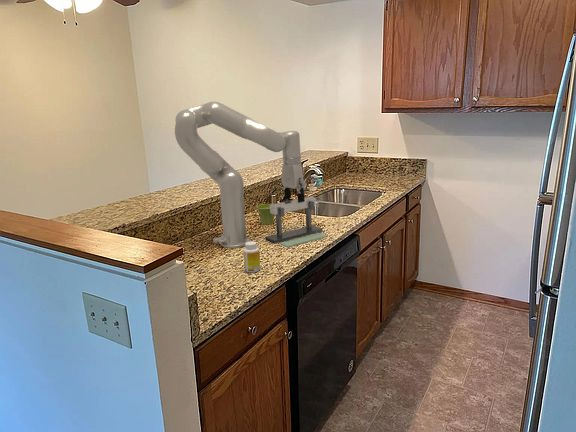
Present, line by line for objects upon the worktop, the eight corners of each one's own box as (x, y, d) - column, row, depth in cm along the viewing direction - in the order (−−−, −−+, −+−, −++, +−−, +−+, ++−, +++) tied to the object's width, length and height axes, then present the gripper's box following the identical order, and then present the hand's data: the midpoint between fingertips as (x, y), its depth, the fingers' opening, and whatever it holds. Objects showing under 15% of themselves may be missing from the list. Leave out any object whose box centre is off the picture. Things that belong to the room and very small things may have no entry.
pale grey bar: (274, 214, 185) (274, 206, 184) (270, 213, 188) (269, 204, 187) (316, 205, 197) (315, 197, 196) (311, 204, 200) (310, 196, 199)
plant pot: (272, 226, 211) (272, 208, 209) (254, 225, 214) (253, 208, 212) (279, 221, 220) (278, 204, 217) (262, 220, 223) (261, 203, 220)
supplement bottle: (263, 269, 158) (262, 242, 156) (252, 274, 155) (250, 246, 152) (253, 266, 162) (251, 239, 160) (241, 270, 158) (239, 243, 156)
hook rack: (274, 244, 186) (272, 210, 182) (265, 240, 191) (263, 207, 187) (322, 231, 200) (321, 200, 196) (312, 228, 205) (312, 197, 202)
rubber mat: (287, 247, 180) (287, 246, 180) (280, 244, 185) (280, 243, 185) (327, 236, 192) (327, 235, 192) (319, 234, 196) (319, 232, 196)
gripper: (273, 160, 192) (276, 199, 196) (297, 164, 178) (299, 205, 183) (287, 158, 196) (289, 196, 200) (311, 161, 182) (313, 201, 187)
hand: (294, 200), depth 191 cm, fingers open, 9 cm apart
